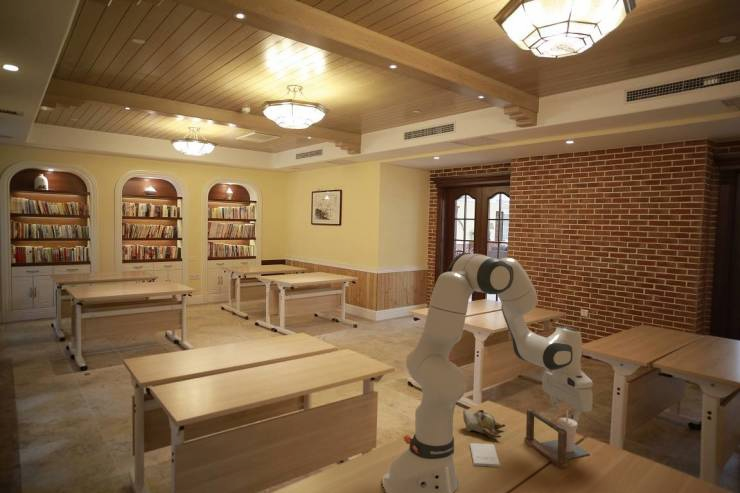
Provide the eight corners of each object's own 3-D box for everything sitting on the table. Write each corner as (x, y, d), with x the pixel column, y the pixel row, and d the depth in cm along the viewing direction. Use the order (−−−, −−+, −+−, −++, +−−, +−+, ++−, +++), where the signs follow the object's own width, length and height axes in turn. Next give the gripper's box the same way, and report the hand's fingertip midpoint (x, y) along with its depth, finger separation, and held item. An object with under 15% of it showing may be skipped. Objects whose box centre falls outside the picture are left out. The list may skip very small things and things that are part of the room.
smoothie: (554, 450, 152) (555, 410, 151) (559, 442, 157) (560, 403, 156) (574, 456, 148) (575, 415, 147) (578, 448, 153) (580, 408, 152)
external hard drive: (494, 448, 155) (500, 469, 143) (469, 447, 156) (473, 467, 144) (494, 444, 155) (500, 464, 142) (469, 442, 156) (473, 462, 143)
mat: (562, 460, 146) (562, 458, 146) (540, 444, 157) (540, 442, 157) (589, 455, 150) (589, 453, 150) (566, 439, 160) (566, 437, 160)
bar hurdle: (559, 468, 142) (560, 432, 141) (524, 440, 159) (525, 408, 158) (567, 466, 143) (568, 431, 142) (531, 439, 160) (532, 407, 159)
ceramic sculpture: (466, 400, 173) (507, 409, 167) (465, 421, 174) (505, 431, 167) (460, 411, 163) (502, 422, 157) (458, 434, 164) (500, 445, 158)
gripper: (538, 365, 160) (536, 402, 161) (581, 385, 141) (579, 428, 142) (553, 363, 162) (551, 400, 163) (597, 383, 143) (595, 426, 144)
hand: (564, 413), depth 152 cm, fingers open, 8 cm apart
